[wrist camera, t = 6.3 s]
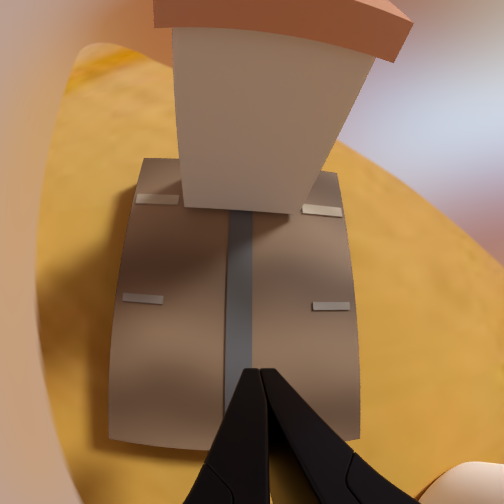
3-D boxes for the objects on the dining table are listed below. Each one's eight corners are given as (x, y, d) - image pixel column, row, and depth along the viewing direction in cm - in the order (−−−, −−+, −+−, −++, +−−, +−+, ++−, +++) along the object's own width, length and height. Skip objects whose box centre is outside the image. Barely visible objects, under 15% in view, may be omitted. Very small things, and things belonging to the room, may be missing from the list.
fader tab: (305, 221, 16) (413, 23, 5) (175, 213, 15) (152, -22, 4) (300, 174, 17) (377, -9, 6) (183, 165, 16) (179, -40, 6)
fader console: (343, 433, 14) (360, 438, 12) (120, 431, 12) (108, 438, 10) (326, 190, 20) (337, 172, 18) (148, 177, 18) (143, 157, 17)
